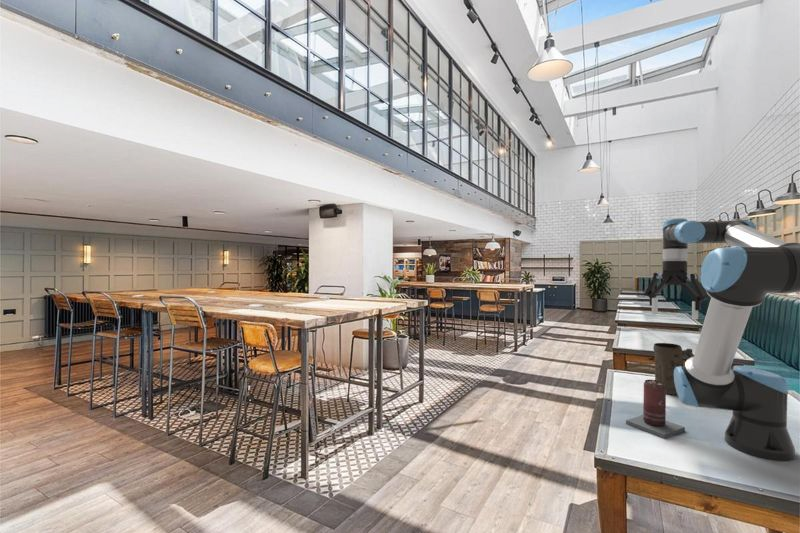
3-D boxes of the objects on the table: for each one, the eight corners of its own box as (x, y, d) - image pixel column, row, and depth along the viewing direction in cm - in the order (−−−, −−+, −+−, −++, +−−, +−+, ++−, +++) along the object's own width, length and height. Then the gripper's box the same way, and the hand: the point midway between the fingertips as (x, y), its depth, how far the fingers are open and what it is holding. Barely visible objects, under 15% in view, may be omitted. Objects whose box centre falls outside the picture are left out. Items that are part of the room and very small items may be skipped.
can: (658, 419, 128) (658, 379, 128) (669, 427, 122) (670, 385, 121) (639, 418, 129) (639, 378, 128) (649, 426, 122) (650, 384, 122)
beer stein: (663, 395, 154) (664, 347, 154) (647, 386, 165) (647, 341, 165) (701, 396, 154) (702, 348, 153) (683, 387, 164) (683, 342, 164)
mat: (684, 430, 122) (684, 427, 122) (664, 438, 117) (664, 434, 117) (646, 417, 133) (646, 413, 133) (625, 423, 127) (626, 420, 127)
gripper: (720, 260, 131) (719, 320, 131) (645, 260, 153) (645, 312, 153) (709, 260, 127) (708, 322, 127) (634, 260, 149) (634, 313, 150)
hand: (673, 316), depth 140 cm, fingers open, 13 cm apart
